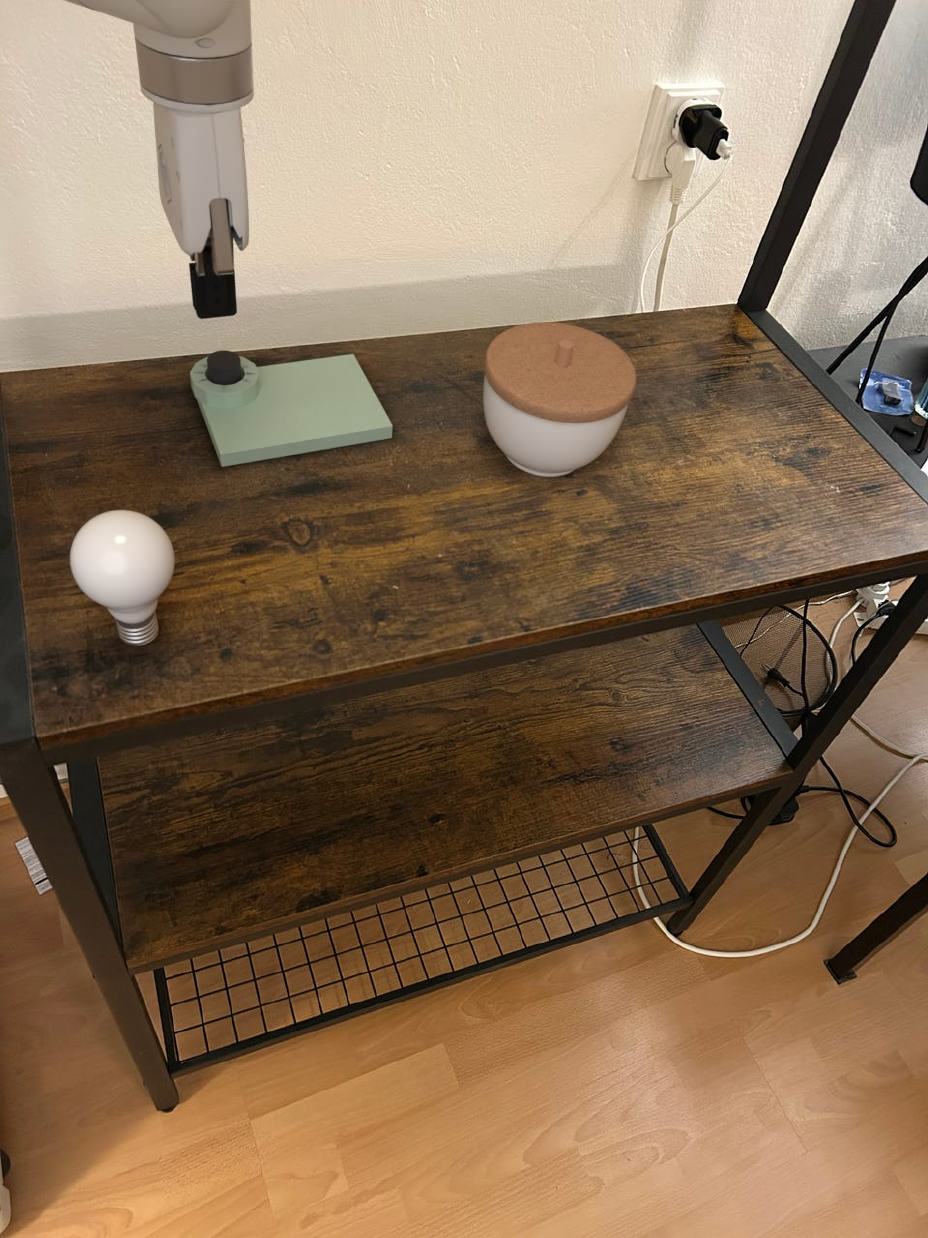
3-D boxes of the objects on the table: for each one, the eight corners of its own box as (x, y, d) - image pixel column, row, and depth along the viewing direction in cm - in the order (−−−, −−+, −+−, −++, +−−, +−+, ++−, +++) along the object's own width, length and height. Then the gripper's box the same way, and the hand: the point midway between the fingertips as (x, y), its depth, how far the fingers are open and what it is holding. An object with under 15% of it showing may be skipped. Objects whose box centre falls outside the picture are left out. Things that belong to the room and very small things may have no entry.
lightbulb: (143, 589, 71) (119, 475, 63) (206, 633, 69) (190, 521, 61) (72, 640, 67) (37, 526, 59) (137, 688, 65) (110, 576, 57)
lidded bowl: (454, 414, 89) (468, 306, 80) (580, 400, 92) (606, 295, 84) (499, 507, 81) (520, 398, 73) (635, 488, 85) (669, 382, 76)
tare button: (212, 388, 83) (210, 371, 82) (205, 369, 85) (203, 352, 83) (245, 383, 84) (243, 366, 82) (237, 365, 85) (236, 348, 84)
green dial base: (217, 467, 80) (214, 439, 78) (188, 387, 87) (184, 358, 85) (392, 438, 85) (393, 410, 83) (351, 364, 92) (352, 336, 90)
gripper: (119, 27, 68) (150, 269, 82) (161, 115, 60) (188, 369, 73) (225, 27, 71) (238, 261, 85) (280, 111, 62) (285, 358, 76)
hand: (215, 311), depth 79 cm, fingers closed
